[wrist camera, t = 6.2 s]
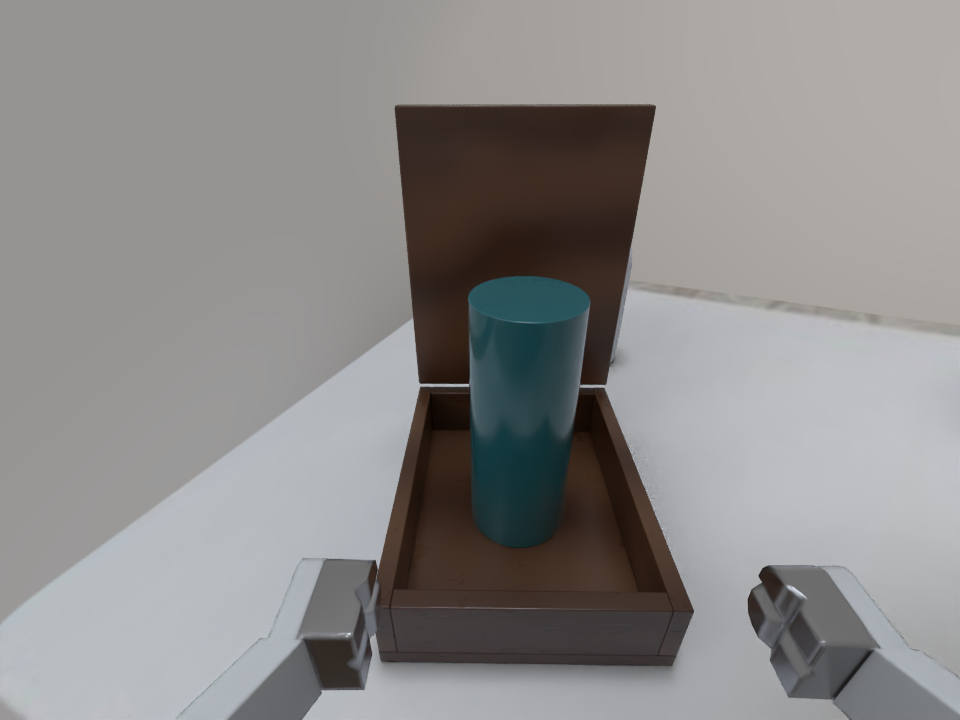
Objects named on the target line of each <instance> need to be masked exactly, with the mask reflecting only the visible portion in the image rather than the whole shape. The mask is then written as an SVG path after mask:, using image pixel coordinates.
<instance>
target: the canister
mask: <svg viewBox="0 0 960 720" xmlns="http://www.w3.org/2000/svg"><path fill="white" fill-rule="evenodd" d="M590 304H591V302H590V298H589V296H588V295H587V293H585V292H584V291H583V290H582V289H580V288H578V287H577V286H575V285H572V284H570V283H567V282H564V281H560V280H556V279H551V278H545V277H534V276H514V277H504V278H498V279H493V280H490V281H486V282H484V283H481V284H479V285H477V286H476V287H474V288H473V289H472V290H471V291H470V293H469V295H468V339H469V403H470V467H471V514H472V518H473V520H474V523H475V525H476V526H477V528H478V529H479V530H480V531H481V533H483V534H484V535H485V536H486V537H487V538H489V539H490V540H492V541H494V542H496V543H498V544H501V545H504V546H507V547H514V548H527V547H532V546H536V545H539V544H541V543H543V542H545V541H547V540H548V539H550V538H551V537H552V536H553V535H554V534H555V533H556V532H557V530H558V529H559V527H560V525H561V522H562V518H563V510H564V503H565V495H566V488H567V480H568V472H569V465H570V457H571V449H572V442H573V434H574V426H575V419H576V411H577V403H578V396H579V388H580V381H581V373H582V365H583V358H584V350H585V342H586V335H587V327H588V319H589V312H590Z"/></svg>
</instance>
